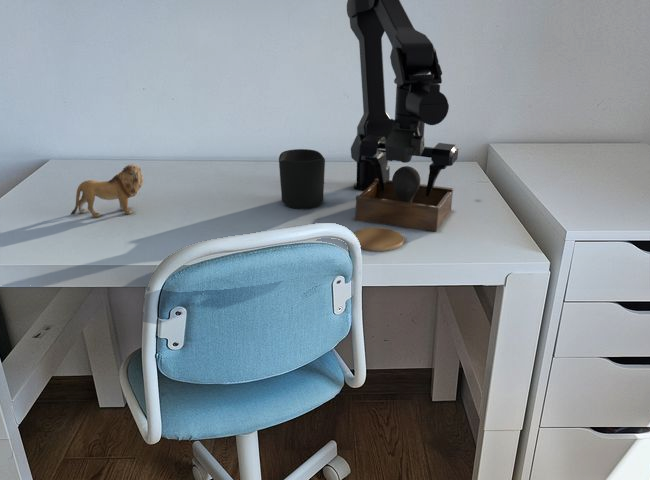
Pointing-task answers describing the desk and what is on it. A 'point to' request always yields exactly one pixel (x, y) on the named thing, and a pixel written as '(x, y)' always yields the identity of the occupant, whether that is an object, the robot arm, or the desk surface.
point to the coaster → (379, 239)
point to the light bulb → (406, 183)
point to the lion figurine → (110, 190)
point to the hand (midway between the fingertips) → (405, 193)
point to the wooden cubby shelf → (404, 207)
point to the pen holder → (302, 178)
